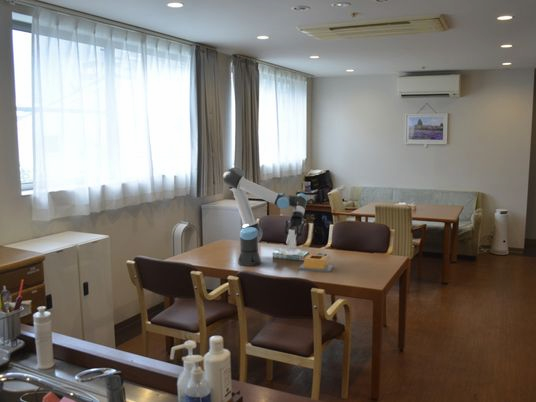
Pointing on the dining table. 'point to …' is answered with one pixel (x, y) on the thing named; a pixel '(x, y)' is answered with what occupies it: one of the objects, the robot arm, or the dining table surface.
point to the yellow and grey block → (316, 263)
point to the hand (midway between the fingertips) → (290, 243)
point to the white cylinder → (291, 238)
